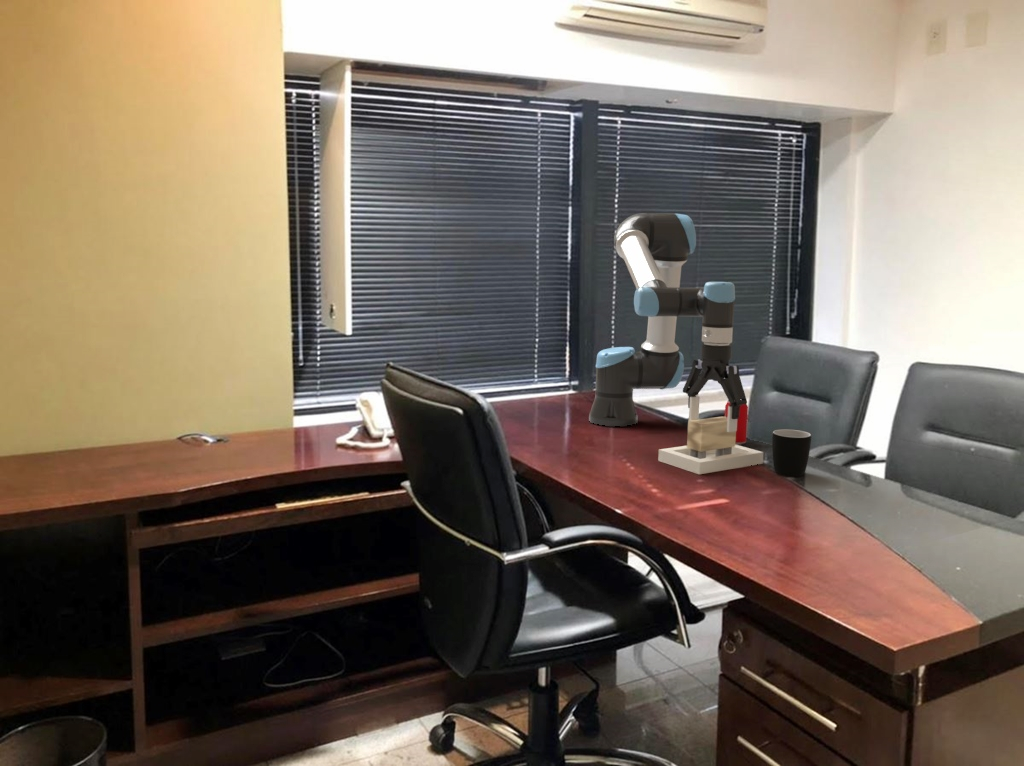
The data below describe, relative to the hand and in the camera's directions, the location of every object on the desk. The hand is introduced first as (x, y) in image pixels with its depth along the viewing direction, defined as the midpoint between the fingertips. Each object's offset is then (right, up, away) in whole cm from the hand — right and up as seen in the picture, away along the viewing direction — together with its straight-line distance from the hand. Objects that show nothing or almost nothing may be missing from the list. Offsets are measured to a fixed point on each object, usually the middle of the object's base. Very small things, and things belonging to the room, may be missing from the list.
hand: (712, 426), depth 218 cm
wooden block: (0, -5, +1) cm, 5 cm away
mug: (+17, -11, -7) cm, 21 cm away
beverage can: (+12, -6, +24) cm, 27 cm away
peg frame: (0, -9, +1) cm, 9 cm away
